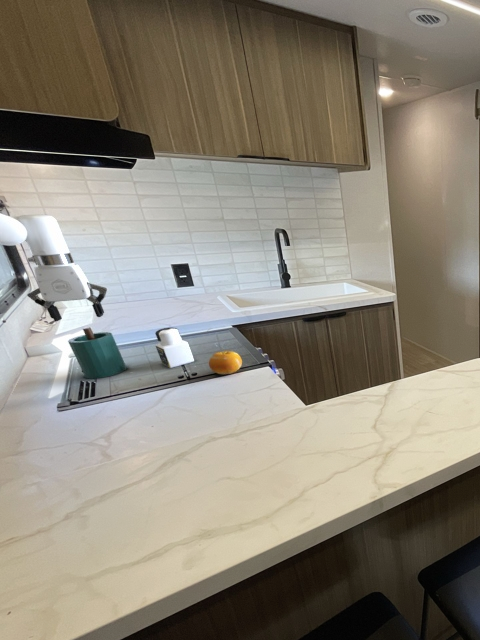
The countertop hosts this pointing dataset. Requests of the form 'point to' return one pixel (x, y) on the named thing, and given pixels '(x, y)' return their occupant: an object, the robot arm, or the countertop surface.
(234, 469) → the countertop surface
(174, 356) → the medicine bottle
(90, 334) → the brush
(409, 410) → the countertop surface
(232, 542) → the countertop surface
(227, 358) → the fruit
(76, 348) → the jar
